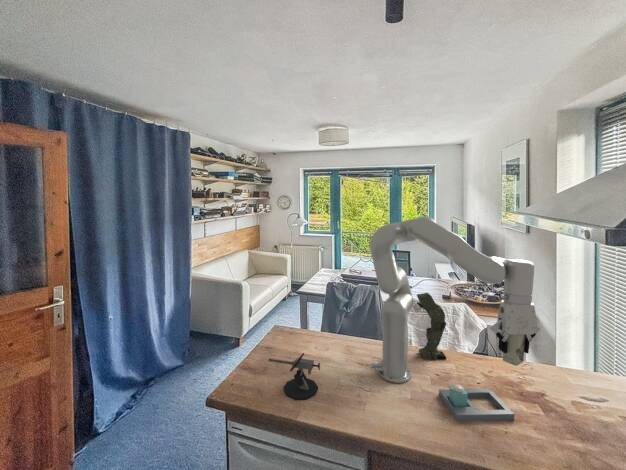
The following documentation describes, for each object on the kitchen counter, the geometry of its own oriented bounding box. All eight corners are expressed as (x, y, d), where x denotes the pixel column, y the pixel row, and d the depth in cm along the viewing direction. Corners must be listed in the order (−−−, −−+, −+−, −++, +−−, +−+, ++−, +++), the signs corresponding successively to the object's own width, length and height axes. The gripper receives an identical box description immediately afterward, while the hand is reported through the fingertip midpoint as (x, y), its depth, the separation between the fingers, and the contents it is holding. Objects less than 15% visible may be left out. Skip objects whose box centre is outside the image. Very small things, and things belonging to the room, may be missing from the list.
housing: (456, 421, 94) (457, 414, 94) (439, 394, 107) (439, 389, 107) (514, 419, 95) (514, 413, 94) (489, 394, 107) (489, 388, 107)
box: (516, 366, 96) (519, 328, 95) (501, 360, 100) (504, 323, 99) (524, 362, 99) (527, 324, 98) (509, 356, 103) (512, 320, 102)
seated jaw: (454, 411, 99) (455, 391, 98) (449, 403, 103) (449, 383, 102) (466, 411, 99) (467, 390, 98) (460, 403, 103) (461, 383, 102)
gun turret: (275, 374, 121) (274, 343, 120) (323, 382, 115) (323, 350, 114) (260, 393, 109) (259, 359, 107) (314, 403, 103) (313, 367, 102)
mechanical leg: (450, 351, 137) (436, 288, 135) (456, 359, 130) (441, 292, 128) (419, 356, 139) (405, 294, 137) (423, 365, 132) (408, 299, 130)
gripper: (498, 302, 93) (494, 357, 95) (553, 301, 94) (548, 356, 96) (484, 294, 101) (480, 346, 103) (535, 294, 101) (530, 345, 103)
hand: (513, 350), depth 99 cm, fingers closed on box, 6 cm apart
